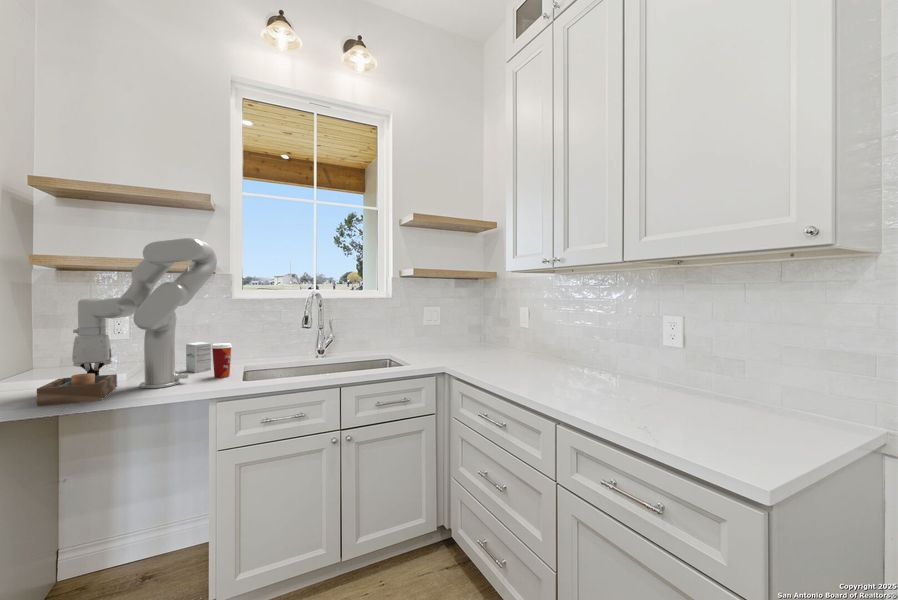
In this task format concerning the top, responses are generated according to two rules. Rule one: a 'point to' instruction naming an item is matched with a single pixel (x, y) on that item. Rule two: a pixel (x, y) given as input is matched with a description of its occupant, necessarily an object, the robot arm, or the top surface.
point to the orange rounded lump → (83, 379)
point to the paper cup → (221, 359)
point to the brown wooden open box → (74, 392)
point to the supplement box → (198, 356)
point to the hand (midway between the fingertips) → (93, 380)
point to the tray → (97, 379)
